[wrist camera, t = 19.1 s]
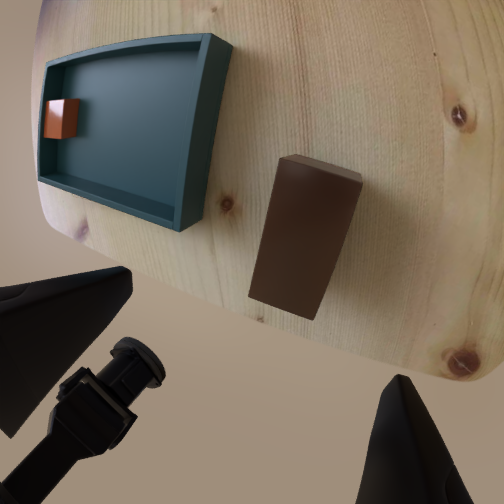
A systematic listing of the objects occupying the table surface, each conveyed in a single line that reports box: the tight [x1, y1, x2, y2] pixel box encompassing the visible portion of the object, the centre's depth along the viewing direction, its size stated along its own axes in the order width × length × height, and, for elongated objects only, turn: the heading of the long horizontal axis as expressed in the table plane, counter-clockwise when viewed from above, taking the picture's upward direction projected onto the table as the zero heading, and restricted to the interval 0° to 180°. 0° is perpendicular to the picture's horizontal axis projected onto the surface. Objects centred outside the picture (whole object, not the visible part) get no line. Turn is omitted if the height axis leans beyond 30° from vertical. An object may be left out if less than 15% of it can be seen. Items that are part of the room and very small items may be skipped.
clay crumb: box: [44, 98, 80, 139], centre depth 21 cm, size 4×4×2 cm
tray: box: [37, 33, 233, 232], centre depth 19 cm, size 20×13×3 cm, turn 78°
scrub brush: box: [248, 154, 363, 321], centre depth 16 cm, size 4×8×5 cm, turn 168°
